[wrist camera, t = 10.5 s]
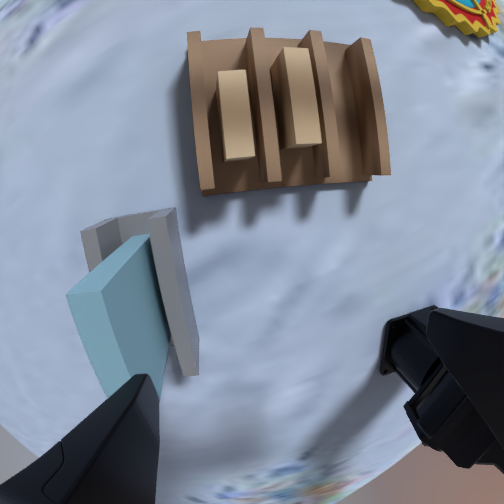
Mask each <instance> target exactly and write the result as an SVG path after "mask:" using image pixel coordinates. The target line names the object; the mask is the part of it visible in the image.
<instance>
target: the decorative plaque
mask: <svg viewBox="0 0 504 504" xmlns="http://www.w3.org/2000/svg"><path fill="white" fill-rule="evenodd" d="M413 1H414V2H415V3H416V5H417V6H418V7H419V8H420V9H421V10H422V11H423V12H426V13H433V14H435V15H436V16H437V17H438V18H439V19H440V20H441V21H442V22H443V23H444V25H445V26H447V27H450V26H452V25H455V26H456V27H457V28H458V29H459V30H460V31H461V32H462V33H463V34H464V35H469V34H472V33H474V34H475V35H476V36H477V37H478V38H480V37H483V36H487V35H490V34H491V33H494V32H497V27H496V25H499V24H501V23H500V20H499V18H498V15H497V14H498V13H500V11H499V9H498V7H497V5H496V4H495V0H413ZM485 24H486V25H485Z"/></svg>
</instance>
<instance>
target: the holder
mask: <svg viewBox="0 0 504 504" xmlns="http://www.w3.org/2000/svg"><path fill="white" fill-rule="evenodd" d="M80 232H81V237H82V242H83V247H84V251H85V256H86V260H87V264H88V268H89V272H91V271H92V270H93V269H94V268H95V267H97V266H98V265H99V264H100V263H101V262H102V261H103V260H105V259H106V258H107V257H108V256H109V255H110V254H112V253H113V252H114V251H115V250H116V249H118V248H119V247H120V246H121V245H122V244H123V243H125V242H126V241H127V240H128V239H130V238H131V237H132V236H138V235H144V234H149V235H150V240H151V246H152V251H153V257H154V262H155V267H156V272H157V276H158V281H159V286H160V290H161V295H162V299H163V303H164V307H165V311H166V316H167V320H168V323H169V327H170V331H171V338H170V343H169V346H171V345H174V346H175V350H176V353H177V357H178V360H179V363H180V367H181V370H182V373H183V377H186V376H196V375H199V335H198V331H197V326H196V321H195V317H194V312H193V307H192V302H191V297H190V292H189V287H188V281H187V276H186V270H185V265H184V259H183V253H182V247H181V241H180V235H179V228H178V222H177V215H176V208H168V209H162V210H156V211H149V212H144V213H138V214H132V215H126V216H121V217H115V218H110V219H106V220H104V221H101V222H99V223H97V224H95V225H93V226H91V227H88V228H86V229H84V230H82V231H80Z"/></svg>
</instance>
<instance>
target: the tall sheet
mask: <svg viewBox="0 0 504 504" xmlns="http://www.w3.org/2000/svg"><path fill="white" fill-rule="evenodd" d="M66 298H67V301H68V304H69V307H70V310H71V313H72V316H73V319H74V322H75V325H76V327H77V330H78V333H79V336H80V338H81V341H82V343H83V346H84V348H85V351H86V353H87V356H88V358H89V360H90V363H91V365H92V367H93V369H94V372H95V374H96V376H97V378H98V380H99V382H100V384H101V386H102V388H103V390H104V392H105V394H106V396H107V398H109V397H110V396H111V395H112V394H113V393H114V392H116V391H117V390H118V389H119V388H120V387H121V386H122V385H123V384H124V383H126V382H127V381H128V380H129V379H130V378H131V377H132V376H133V375H135V374H143V373H147V374H149V375H150V377H151V379H152V382H153V384H154V386H155V389H156V391H157V393H158V397H159V402H160V395H161V389H162V383H163V377H164V371H165V365H166V360H167V354H168V349H169V343H170V338H171V331H170V327H169V323H168V320H167V316H166V311H165V307H164V303H163V299H162V295H161V290H160V286H159V281H158V276H157V272H156V267H155V262H154V257H153V251H152V246H151V240H150V235H149V234H144V235H138V236H132V237H131V238H130V239H128V240H127V241H126V242H125V243H123V244H122V245H121V246H120V247H119V248H118V249H116V250H115V251H114V252H113V253H112V254H110V255H109V256H108V257H107V258H106V259H105V260H103V261H102V262H101V263H100V264H99V265H98V266H97V267H95V268H94V269H93V270H92V271H91V272H90V273H89V274H88V275H86V276H85V277H84V278H83V279H82V280H81V281H80V282H79V283H78V284H77V285H76V286H74V287H73V288H72V289H71V290H70V291H69V292H68V293H67V294H66Z"/></svg>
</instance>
